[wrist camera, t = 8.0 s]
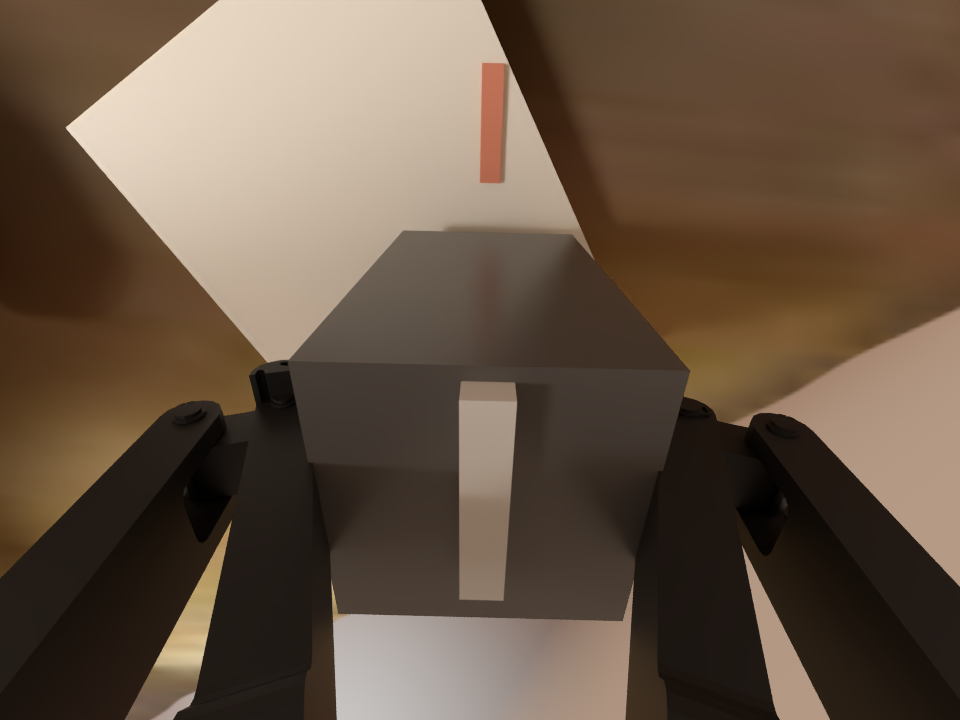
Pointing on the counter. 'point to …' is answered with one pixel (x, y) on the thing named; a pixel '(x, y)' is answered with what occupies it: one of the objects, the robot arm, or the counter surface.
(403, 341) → the grey block with stripe
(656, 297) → the counter surface
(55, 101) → the counter surface
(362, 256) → the panel
